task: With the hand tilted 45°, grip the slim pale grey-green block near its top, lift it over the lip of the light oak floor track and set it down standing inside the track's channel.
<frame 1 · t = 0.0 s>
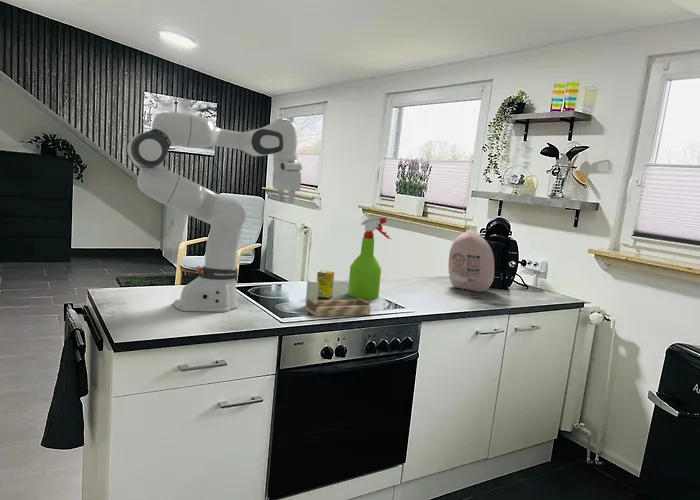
hand: (286, 202, 195), 39 cm above the worktop, tool pointing down, fingers open, 8 cm apart
spray bottle: (367, 296, 227), on the worktop
supplement box: (323, 297, 217), on the worktop
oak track: (337, 311, 195), on the worktop
pale grey-green block: (311, 306, 199), on the worktop
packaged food: (468, 290, 263), on the worktop
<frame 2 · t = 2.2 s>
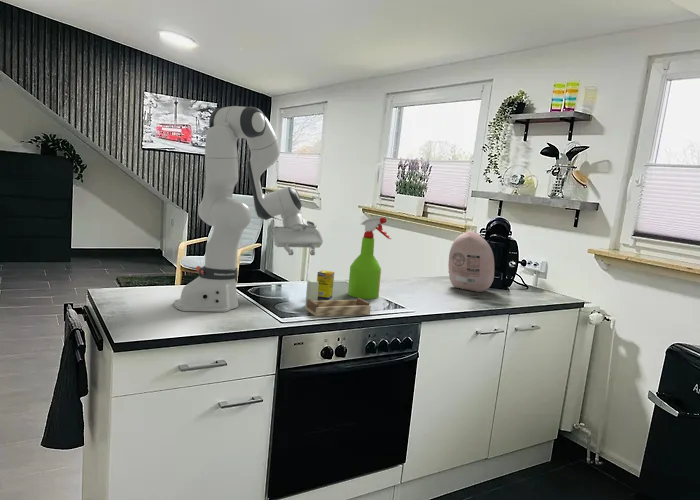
hand: (302, 254, 208), 18 cm above the worktop, tool tilted 45°, fingers open, 8 cm apart
nothing on the worktop moved.
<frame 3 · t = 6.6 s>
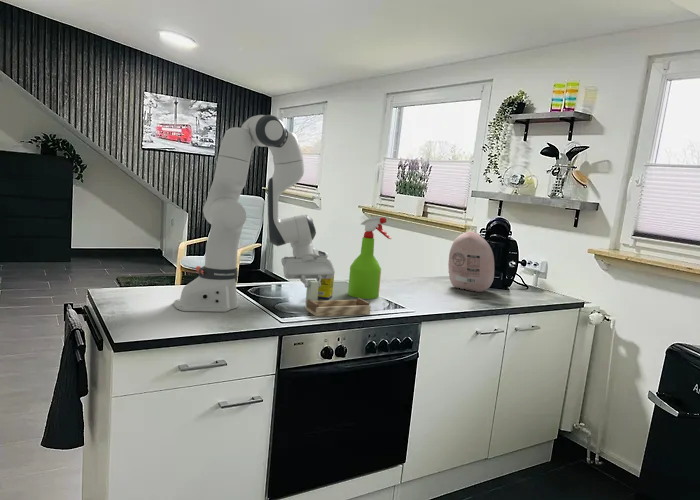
hand: (313, 286, 198), 8 cm above the worktop, tool tilted 45°, fingers closed on pale grey-green block, 3 cm apart
pale grey-green block: (311, 306, 199), on the worktop, touching gripper
everything else where it was.
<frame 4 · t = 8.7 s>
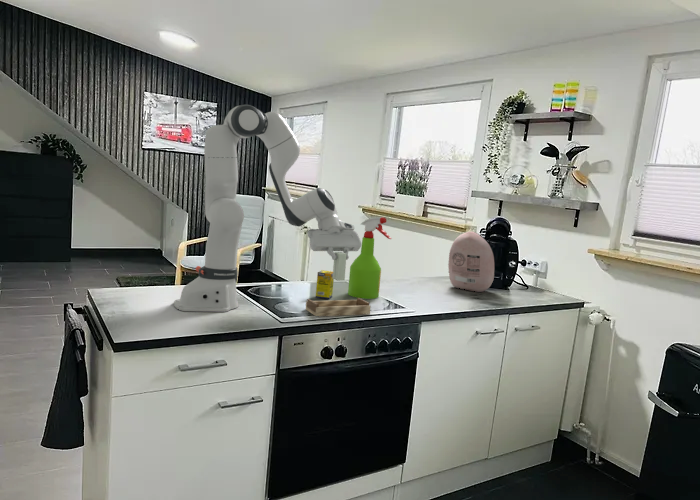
hand: (340, 259, 193), 20 cm above the worktop, tool tilted 45°, fingers closed on pale grey-green block, 3 cm apart
pale grey-green block: (338, 279, 194), point 12 cm above the worktop, touching gripper
everything else where it was.
when the fingers open (10 cm above the worktop, at t = 10.9 s): pale grey-green block stays where it is, resting on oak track.
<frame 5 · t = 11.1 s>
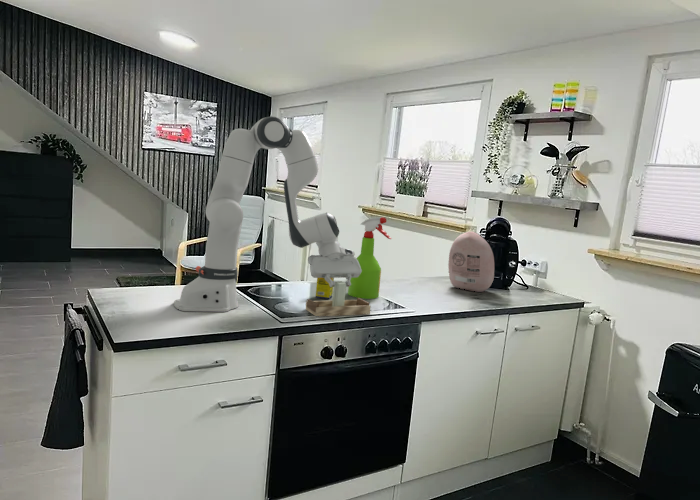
hand: (340, 285, 193), 10 cm above the worktop, tool tilted 45°, fingers open, 5 cm apart
pale grey-green block: (337, 308, 195), point 1 cm above the worktop, touching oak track
everything else where it was.
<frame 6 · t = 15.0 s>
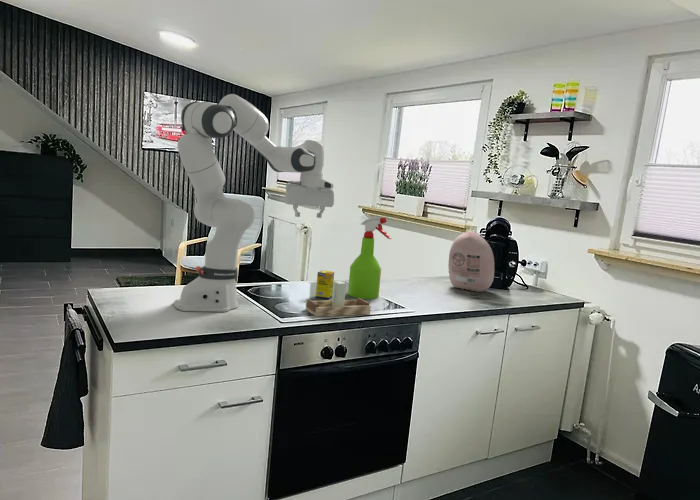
hand: (308, 217, 208), 33 cm above the worktop, tool pointing down, fingers open, 8 cm apart
nothing on the worktop moved.
at the end: pale grey-green block inside the target area on the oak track (0.1 cm from its centre), point 1.2 cm above the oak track's base; pale grey-green block tilted 0°; the gripper is holding nothing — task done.
